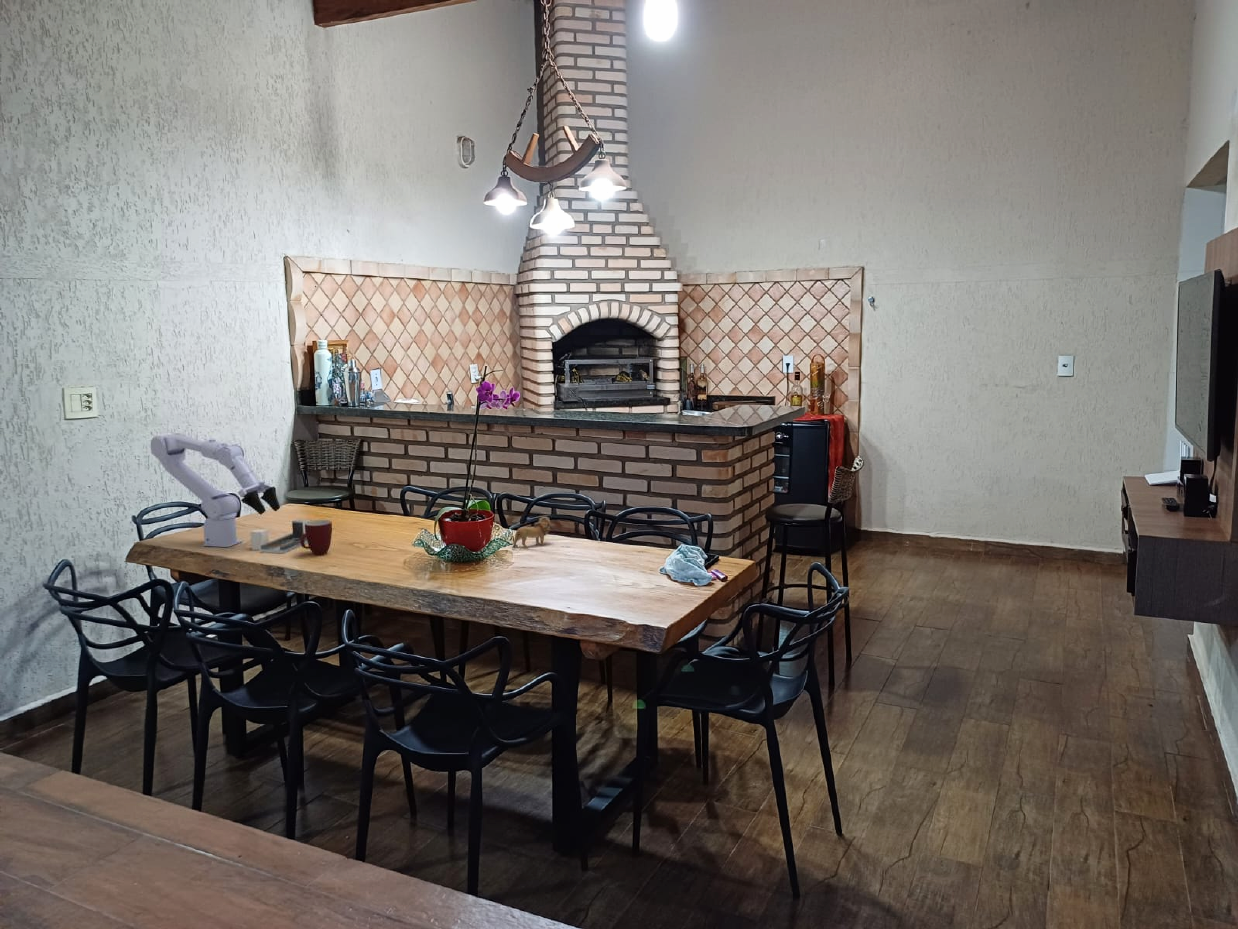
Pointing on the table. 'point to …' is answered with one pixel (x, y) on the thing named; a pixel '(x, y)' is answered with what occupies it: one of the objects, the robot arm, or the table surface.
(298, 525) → the rail
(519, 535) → the lion figurine
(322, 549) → the mug
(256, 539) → the white rectangular block
